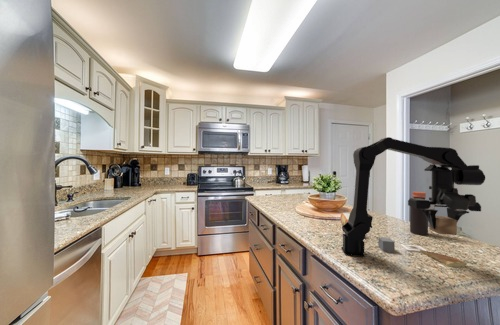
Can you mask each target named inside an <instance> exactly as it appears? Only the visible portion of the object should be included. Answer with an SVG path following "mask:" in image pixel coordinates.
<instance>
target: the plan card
mask: <svg viewBox="0 0 500 325" xmlns="http://www.w3.org/2000/svg"><path fill="white" fill-rule="evenodd" d="M399 246H400V247H401V248H403V249H404V250H405V251H407V252H415V253H421V251H420V250H424V251H428V250H426V249H425V248H424V247H422V246H420V245H413V244H412V245H410V244H402V243H401V244H399Z"/></svg>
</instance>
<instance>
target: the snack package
mask: <svg viewBox="0 0 500 325" xmlns="http://www.w3.org/2000/svg"><path fill="white" fill-rule="evenodd" d="M350 213H351V212H343V213H341V214H340V223H341V225H342V226H343V225H345V224H346V223H347V222H348V219H349V216H350Z"/></svg>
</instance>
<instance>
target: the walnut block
mask: <svg viewBox="0 0 500 325" xmlns="http://www.w3.org/2000/svg"><path fill="white" fill-rule="evenodd" d="M435 218H436V226H435V229H433V228H432V227H431V225H430V223H429V222H428V230H430V231H432V232H435V233H437V234H439V235H448V236H449V235H450V236H457V235H458V234H457V232H458V230H457V228H458V226H457V225H458V222H457V220H455V219H452V218H449V217H448V216H446V215H444V216H443V215H435Z"/></svg>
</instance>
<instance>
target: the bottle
mask: <svg viewBox="0 0 500 325" xmlns="http://www.w3.org/2000/svg"><path fill="white" fill-rule="evenodd" d="M426 197H427V193H426V192H424V191H423V192H422V191H412V198H421V199H425V200H426ZM409 208H410V209H409V212H410V214H409V231H410V233H412V234H414V235H418V236H428V235H429V221H428V219H427V218H426V216H425V214H424V213H423V211H422V210H421V209H419V208H415V207H412V206H409Z"/></svg>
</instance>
